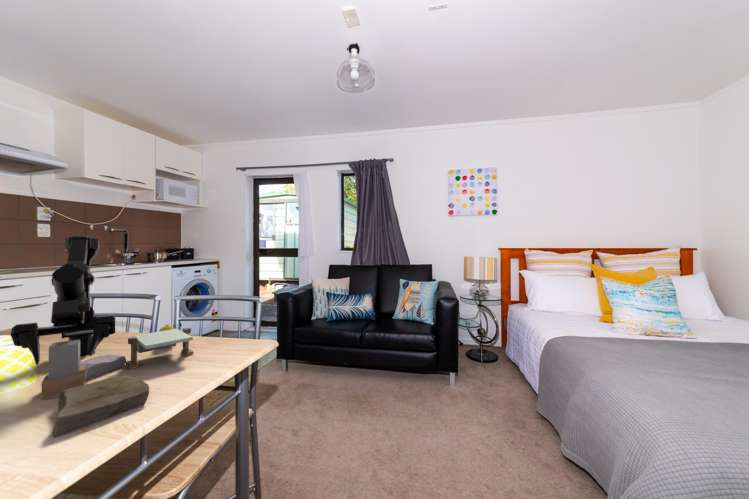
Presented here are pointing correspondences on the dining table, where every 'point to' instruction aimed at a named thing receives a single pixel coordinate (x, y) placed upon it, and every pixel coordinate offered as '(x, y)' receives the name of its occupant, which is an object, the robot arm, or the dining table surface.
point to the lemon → (166, 328)
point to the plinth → (62, 384)
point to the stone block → (102, 365)
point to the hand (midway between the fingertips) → (64, 359)
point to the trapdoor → (160, 340)
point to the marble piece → (98, 402)
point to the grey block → (64, 359)
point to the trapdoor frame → (133, 342)
